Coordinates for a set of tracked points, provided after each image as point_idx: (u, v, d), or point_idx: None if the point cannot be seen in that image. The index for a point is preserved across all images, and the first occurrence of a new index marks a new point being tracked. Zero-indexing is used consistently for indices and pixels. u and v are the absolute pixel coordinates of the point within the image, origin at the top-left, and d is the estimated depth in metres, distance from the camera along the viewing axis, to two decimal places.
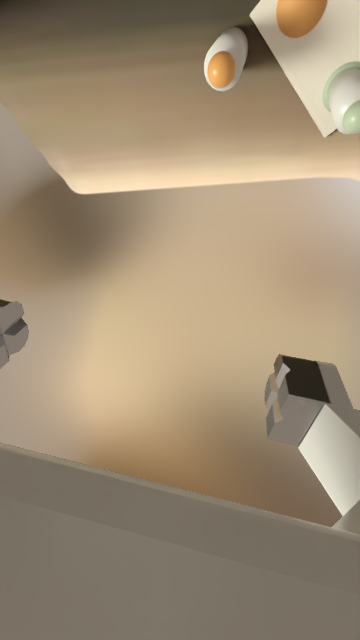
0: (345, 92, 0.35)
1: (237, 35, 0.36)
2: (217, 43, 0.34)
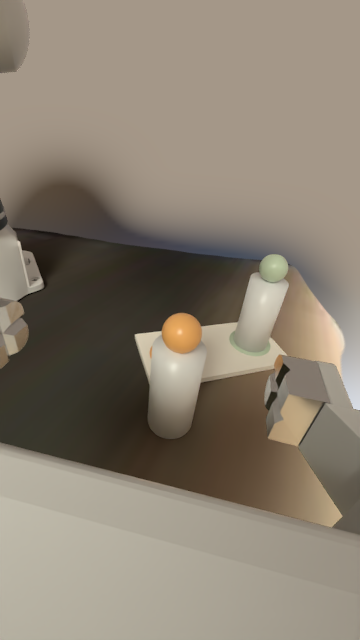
0: (250, 292, 0.36)
1: None
2: (154, 345, 0.25)
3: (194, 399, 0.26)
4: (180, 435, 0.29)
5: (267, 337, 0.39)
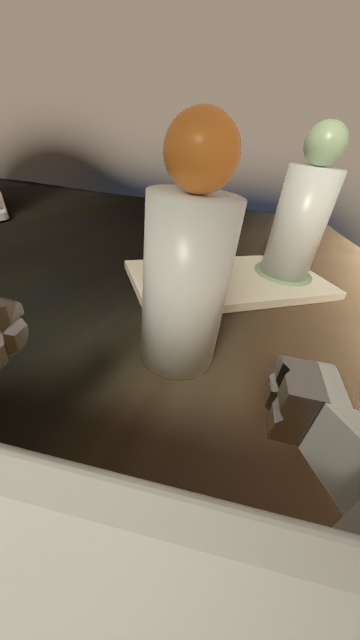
0: (290, 183, 0.25)
1: None
2: (149, 188, 0.13)
3: (221, 300, 0.15)
4: (196, 375, 0.17)
5: (311, 258, 0.27)
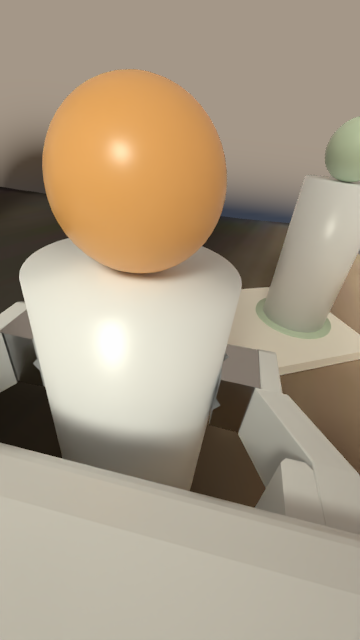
0: (307, 205, 0.18)
1: None
2: (39, 254, 0.06)
3: (194, 449, 0.08)
4: None
5: (331, 303, 0.20)
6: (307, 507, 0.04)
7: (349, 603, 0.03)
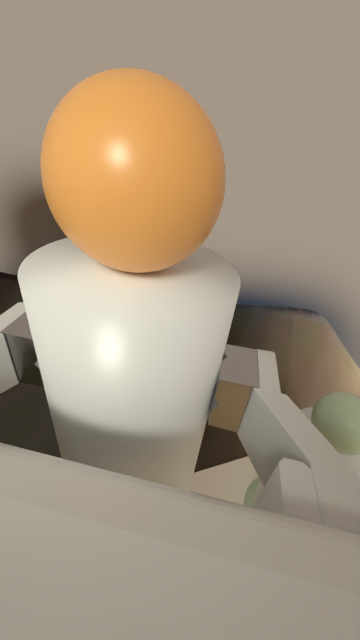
0: None
1: None
2: (38, 253, 0.06)
3: (193, 448, 0.08)
4: None
5: None
6: (305, 507, 0.04)
7: (349, 603, 0.03)
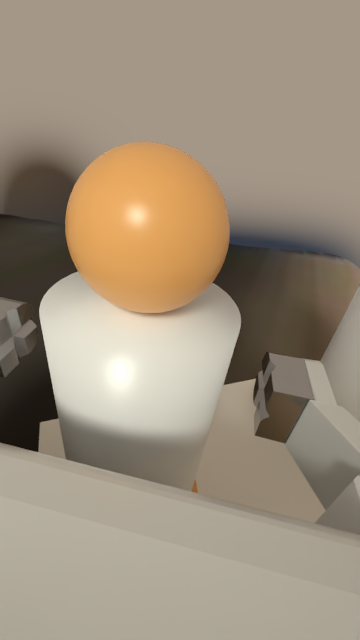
0: None
1: None
2: (55, 289, 0.07)
3: (194, 467, 0.09)
4: None
5: None
6: None
7: (349, 603, 0.03)
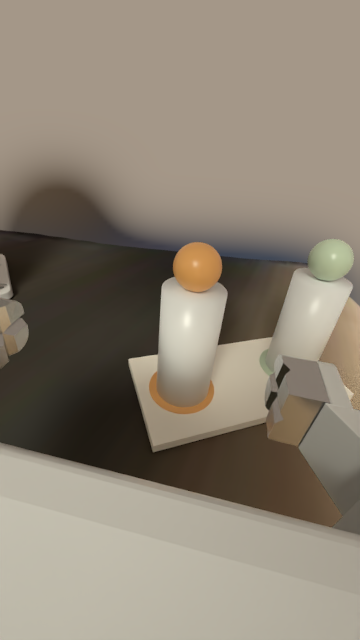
0: (295, 296, 0.24)
1: None
2: (163, 285, 0.21)
3: (212, 354, 0.22)
4: (196, 403, 0.24)
5: (317, 360, 0.27)
6: None
7: (349, 603, 0.03)
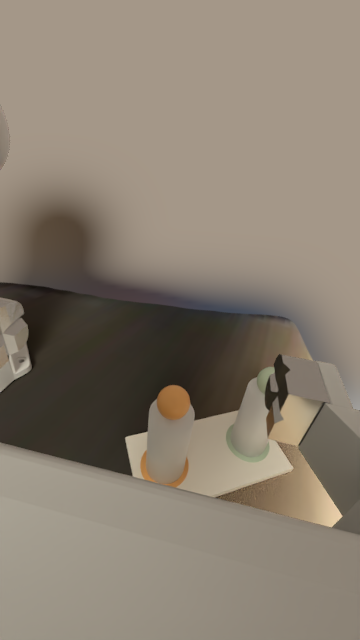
0: (247, 404, 0.33)
1: None
2: (150, 410, 0.30)
3: (185, 452, 0.31)
4: (174, 481, 0.33)
5: (266, 443, 0.36)
6: None
7: (349, 603, 0.03)
